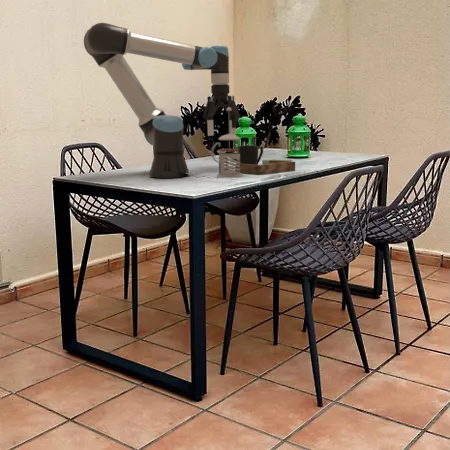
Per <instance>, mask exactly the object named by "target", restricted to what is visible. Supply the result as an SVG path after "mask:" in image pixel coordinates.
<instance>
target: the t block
mask: <svg viewBox="0 0 450 450" xmlns="http://www.w3.org/2000/svg"><path fill="white" fill-rule="evenodd" d="M269 160H278V161H292V162H293V159H277V158H267V159H262V162H261V163H262V164H261V165H263V164H269Z"/></svg>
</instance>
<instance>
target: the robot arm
mask: <svg viewBox="0 0 450 450" xmlns="http://www.w3.org/2000/svg"><path fill="white" fill-rule="evenodd" d="M83 46H84V49H85V51H86V52H87V54H88V55H90V56H91V57H92V58H93V60H94V62H95V63H96V64H97V66H98V67H99V68H103V69H105V71H106V72H107V74H108V75H109V77H110V79H112V81H113V82H114V84H115V86H116V87H117V89H118V90H119V92H120V93H121V94H122V96H123V98H124V99H125V101H126V102H127V104H128V105H129V107H130V108H131V109H132V111H133V113H134V114H135V116H136V117H137V119H138V123H137V124H138V127H139V129H140V130H141V131H142V132H143V136H144V138H145V140H146V142H147V143H148V144H149V145H151V146H152V147H153V160H152V163H151V168H150V169H149V176H150V177H151V178H161V179H164V178H165V179H166V178H169V179H170V178H183V177H188V176H189V175H190V174H189V172H190V171H189V168H188V165H187V161H186V159H185V156H184V155H185V154H184V153H185V152H184V151H185V150H184V149H185V147H184V122H183V121H184V120H183V118H182V117H181V116H178V115H169V114H167V115H166V113H165V111H164V110H163V109H162V108H159V107H157V106H156V105H155V103H154V101H153V99H152V98H151V97H150V96H149V94H148V92H147V91H146V90H145V87H144V86H143V84H142V83H141V82H140V80H139V78H138V77H137V75H136V74H135V73H134V71H133V69H132V68H131V67H130V65H129V63H128V62H127V60H126V59H125V57H124V56H125V55H126V54H131V55H135V56H136V55H138V56H142V57H143V56H144V57H147V58H153V59H157V60H158V59H159V60H163V61H168V62H173V63H178V64H179V63H180V64H181V66H182V68H183V69H184V70H185V71H186V70H187V71H203V70H207V71H209V70H210V84H212V85H211V86H210V87H211V89H210V90H211V94H212V96H209V95H208V96H207V101H206V105H205V109H204V112H203V115H202V119H204V120H206V128H207V136H208V137H210V136H214V132H215V131H214V118H213V117H214V116H215V114H216V112H217V111H218V109H219V108H223V109H224V110H225V112H226V114H227V115H228V118H229V119H228V122H229V134H231V135H235V136H237V131H236V130H237V129H236V128H237V120H238V119H241V115H240V113H239V109H238V106H237V103H236V101H235V96H234V95H229V94H230V85H229V83H230V68H229V67H230V60H229V59H230V53H229V48H228V46H226V45H212V46H198V45H193V44H188V43H183V42H179V41H176V40H175V41H174V40H169V39H164V38H159V37H156V36H149V35H145V34H141V33H137V32H136V33H135V32H133V31H132V32H131V31H130V30H129V29H128V28H126V27H121V26H118V25H114V24H111V23H107V22H97V23H95V24H93V25H92V26H91V27H89V29H87V31H85V34H84V37H83ZM227 108H231V109H232V111H227Z"/></svg>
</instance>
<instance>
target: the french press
mask: <svg viewBox="0 0 450 450" xmlns="http://www.w3.org/2000/svg"><path fill="white" fill-rule="evenodd" d="M227 111H232V109H231V108H227ZM218 140H219V141H228V148H221V142H215V144H214V145H213V146H212V147H211V157H212V159H213V161H215V162H216V163H218V174H216V177H219V178H238V177H239V178H240V177H243V176H244V175H243V173H240V153H238V151H239V149H238V148H230V146H231V145H230V141H239V140H241V137H239V136H238V135H236V136H235V135H231V134H230V133H227V134H224V135H221V136H219V138H218ZM217 145H218V147H220V149H219V151H220V152H222V153H219V154H218V160H217V159H216V158H215V155H214V154H213V151H214V150H215V148H216V147H217ZM235 166H236V167H235ZM235 170H236V171H235Z"/></svg>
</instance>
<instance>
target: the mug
mask: <svg viewBox="0 0 450 450" xmlns="http://www.w3.org/2000/svg"><path fill="white" fill-rule="evenodd" d="M237 149H239V151H237V153H240V164H252V165H259V163H260V161H261V158H262V156H263V154H264V147H263V146H258V145H237ZM259 149H260V150H259ZM259 151H260V152H259Z"/></svg>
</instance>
